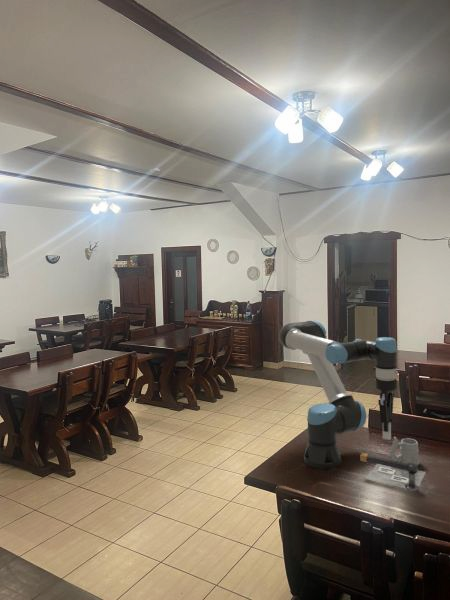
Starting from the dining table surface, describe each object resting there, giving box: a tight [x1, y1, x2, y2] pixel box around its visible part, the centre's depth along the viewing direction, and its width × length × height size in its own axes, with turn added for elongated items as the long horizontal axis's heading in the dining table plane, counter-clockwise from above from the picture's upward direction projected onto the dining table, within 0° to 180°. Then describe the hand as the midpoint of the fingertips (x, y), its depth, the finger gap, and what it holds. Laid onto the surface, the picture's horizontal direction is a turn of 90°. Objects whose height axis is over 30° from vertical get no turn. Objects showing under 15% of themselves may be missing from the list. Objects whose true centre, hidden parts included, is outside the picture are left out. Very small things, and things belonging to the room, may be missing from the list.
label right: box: [390, 475, 409, 484], centre depth 170 cm, size 6×4×1 cm, turn 56°
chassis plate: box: [366, 464, 427, 492], centre depth 174 cm, size 18×17×1 cm
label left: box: [377, 467, 396, 475], centre depth 177 cm, size 6×4×1 cm, turn 56°
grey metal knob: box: [404, 473, 420, 492], centre depth 164 cm, size 5×5×7 cm
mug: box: [389, 436, 421, 467], centre depth 183 cm, size 8×12×12 cm, turn 95°
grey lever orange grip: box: [359, 452, 418, 473], centre depth 169 cm, size 20×4×2 cm, turn 54°
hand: (386, 438), depth 174 cm, fingers closed
